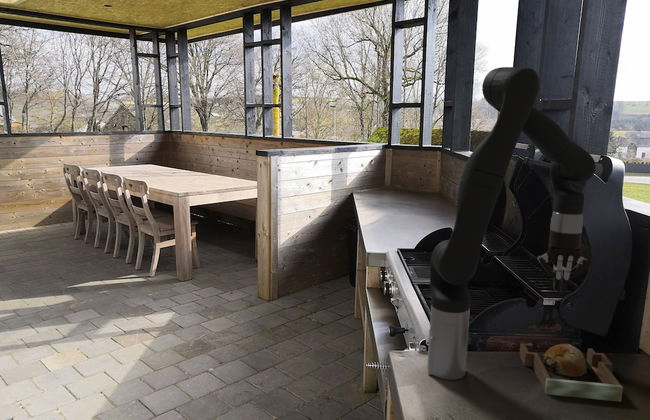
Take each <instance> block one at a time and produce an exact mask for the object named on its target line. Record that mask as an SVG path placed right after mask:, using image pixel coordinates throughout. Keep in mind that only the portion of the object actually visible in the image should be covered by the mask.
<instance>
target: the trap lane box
mask: <svg viewBox="0 0 650 420" xmlns="http://www.w3.org/2000/svg"><path fill="white" fill-rule="evenodd" d="M519 345H520V346H519V357H520V360H521V363H522V364H523V366H524V367H529V368H530V367H532V368H533V371H534V373H535V375H536V376H537V378H538V381H539V383H540V385H541V388H542V389H543V391H544V393H545V395H549V396H560V397H571V398H579V399H580V398H581V399H588V400H590V399H591V400H600V401H609V402H621V403H622V397H623V391H624V386H623V385H621V383H620V382H619V381H618V379H617V378H616V377H615V376H614V374H613V369H614V364H613V363H612V362H611V360H610V359H609V358H608V356H606V354H605V353H602V352H601V353H600V352H595V351H594V349H593V348H589V347H588V348H587V353H586V354H587V355H586V363H588V364H589V366H590V367H591V368H592V370H593V372H594V373H595V374H596V376H597V377H598V378H599V380H600V381H601V382H602V383H601V382H593V381H592V382H591V381H582V380H580V381H579V380H570V379H562V378H561V379H560V378H559V379H558V378H552V377H550V374H549V373H548V371H547V369H546V367H545V366H544V364H543V361H542V359H541V358H540V355H539V354H538V353H537V352H533V351H534V344H533V343H530V342H528V343H523V342H522V343H521V342H520V344H519Z"/></svg>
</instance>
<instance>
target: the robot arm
mask: <svg viewBox="0 0 650 420" xmlns="http://www.w3.org/2000/svg"><path fill="white" fill-rule="evenodd" d="M481 89H482V95H483V99H484V100H485V101H486V102H487V103H488V104H489V105H490V106H491V107H492V108H494V109H495V111H498V112H499V114H498V115H497V119H496V121H495V124H494V126H493V127H492V129H491V131H490V132H489V133H488V135H486V137H485V138H483V140H482V141H481V142H480V143H479V144H478V145H477V146H476V147H475V149H474V150H473V151H472V153H471V154H470V155H469V157H468V159H467V160H466V163H465V167H464V169H463V170H462V171H463V172H462V175H461V177H460V181H459V186H458V190H457V199H456V217H455V222H454V226H453V229H452V232H451V234H450V238H449V239H446V240H442V241H440V242H439V243H438V244H437V245H436V246H435V247H434V248H433V251H432V253H431V255H430V256H431V258H430V272H429V273H430V274H429V275H430V277H429V278H430V279H429V280H430V281H429V290H430V297H431V304H430V305H431V306H430V320H429V321H430V322H429V331H428V345H427V346H428V347H427V348H428V349H427V350H428V351H427V354H428V355H427V374H428V375H430V376H435V377H436V378H438V379H439V378H440V379H443V380H450V381H451V380H460V379H462V378H464V377H465V375H466V369H467V355H468V354H467V353H468V341H469V324H470V311H471V296H470V293H469V289H468V287H469V286H468V282H469V281H470V280H472V278H473V276H474V275H475V273H476V271H477V269H478V265H479V260H480V255H481V252H482V247H483V242H484V238H485V235H486V232H487V228H488V225H489V223H490V220H491V217H492V214H493V211H494V210H495V206H496V203H497V201H498V198H499V196H500V193H501V190H502V189H503V184H504V181H505V178H506V175H507V172H508V169H509V166H510V162H511V160H512V157H513V154H514V151H515V149H516V146H517V143H518V141H519V139H520V137H521V134H522V133H523V134H524V135H525V136H526V137H527V138H528V139H529V140H530V141H531V143H533V145H534V146H535V147H536V148H537V150H539V152H540V153H541V154H542V155H543V157H544V158H545V159H547V160H548V161H549V162H550V166H549V174H550V179H551V185H552V191H553V195H554V197H553V199H554V200H553V208H552V215H551V219H550V225H549V228H550V229H549V240H548V247H547V249H546V251H545V253H543V254H542V255H537V257H536V258H537V261H538V262H539V263H540V265H541V266H542V268H543V269H544V271H545V272H546V273H547V275H548V276H549V277H550V278H553V283H552V288H553V290H554V291H555V293H558V294H559V293H562V294H564V293H565V292H567V290H568V282H569V280H570V279H576V278H577V277H578V276H579V275H580V274H581V273H582V272H583V271H584V270H585V269H586V268H587V267H588V266H589V265H590V261H589V260H588V259H587V258H585V257H583V256H582V252H581V245H582V236H583V235H582V233H583V225H584V220H583V219H584V204H585V193H584V192H582V191H581V190H579V189H576V188H574V187H573V185H572V182H581V183H583V182H587V181H589V180H590V179H592V178H593V177H594V175H595V173H596V171H597V168H596V167H597V165H596V162H595V159H594V158H593V156H592V155H591V154H590V153H589V152H588V151H586V149H585V148H583V147H581V146H580V145H578V144H577V143H576V142H574V141H573V140H571V139H570V137H569V135H568V134H567V133H566V132H565V131H564V130H563V128H562V127H561V126H560V125H559V124H558V123H557V122H556V121H555V120H553V119H552V118H551V117H549V116H548V115H546V114H545V113H543V112H542V111H540V110H539V109H538V108H536V107H535V106H534V105H535V103H536V100H537V98H538V94H539V91H540V78H539V75H538V73H537V72H536V70H535V69H533V68H531V67H526V66H525V67H522V66H502V67H501V66H500V67H496V68H493V69H491V70H490V71H489V72H488V73H487V74H486V75H485V77H484V80H483V82H482V87H481ZM549 261H550V262H551V263H552V264H553V270H552V269H551V267H550V266H549V264H548V263H549ZM575 263H576V265H575ZM573 266H574V267H573Z"/></svg>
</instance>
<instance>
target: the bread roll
mask: <svg viewBox="0 0 650 420" xmlns="http://www.w3.org/2000/svg"><path fill="white" fill-rule="evenodd" d="M542 357H543V359H542V360H543V361H542V363H543V365H544V367H545V369H546V368H547V370H548V371H550V372H552V373H555V374H557V375H561V376H564V377H574V378H576V377H582V376H583V375H585V374H586V375H587V373H588V371H587V360H586V358H585V356H584V354H583V352H582V351H581V350H579V348H577V347H575V346H573V345H572V344H568V343H560V344H556V345H553V346H551V347H549V348H548V349H547V350H545V353H544V354H542Z"/></svg>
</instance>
